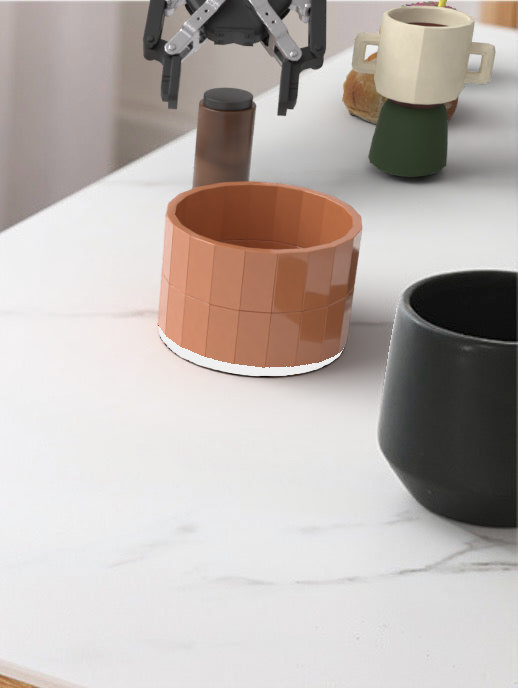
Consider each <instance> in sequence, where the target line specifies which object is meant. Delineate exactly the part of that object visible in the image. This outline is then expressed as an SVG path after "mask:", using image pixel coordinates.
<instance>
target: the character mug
mask: <svg viewBox="0 0 518 688" xmlns="http://www.w3.org/2000/svg"><path fill="white" fill-rule="evenodd" d="M457 10H458V9H456V10H454V9H449V8H443V7H435V6H406V5H404V7H401V6H398V7H392V8H388V9H387V10H386V11H384V12H383V13H382V17H381V22H380V23H381V24H380V26H381V29H380V28H379V29H380V34H379V33H375V32H374V33H373V32H364V31H363V32H359V33H357V34H356V36H355V38H354V42H353V51H352V57H351V68H352V69H353V70H354V71H356V72H358V73H369V74H374V81H375V86H376V91H377V92H378V93H379V94H381V95H382V96H384V97H387V98H389V99H388V100H386V102H385V103H384V105H383V106H382V108H381V111H380V114H379V118H378V121H377V125H376V124H375V128H374V131H373V132H374V133H373V134H372V135H373V136H372V138H371V143H370V147H369V152H368V156H367V158H368V161H369V163H370V164H371V165H372V166H374V167H375V168H376V169H378V170H380V171H382V172H385V173H387V174H390V175H392V176H396V177H397V176H399V177H405V178H407V177H408V178H417V177H426V176H430V175H433V174H436V173H438V172H441V171H443V169H445V168H446V167H447V164H448V163H447V161H448V144H449V143H448V142H449V141H448V138H449V137H448V136H449V133H448V131H449V120H448V113H447V110H446V107H445V105H444V103H446V102H449V101H452V100H456V99H457V97H458V98H459V96H460V94H461V93H462V92H463V90H464V88H465V85H466V84H473V85H474V84H475V85H485V84H489V82H490V81H491V79H492V76H493V75H492V74H493V70H494V64H495V58H496V46H495V45H494V44H491V43H489V42H477V41H473V37H474V32H475V22H476V20H475V19H474V17H473V16H472V15H470V14H468V13H466V12H464V11H461V10H458V11H457ZM367 46H376V47H377V51H376V52H377V59H376V62H366V61H365V60H366V59H365V58H366V50H367ZM470 55H478V56H481V58H480V60H481V61H480V65H479V71H472V70H468V67H469V61H470ZM352 69H351V70H352Z"/></svg>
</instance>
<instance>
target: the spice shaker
mask: <svg viewBox="0 0 518 688" xmlns="http://www.w3.org/2000/svg"><path fill="white" fill-rule="evenodd" d="M256 113H257V104H256V102H255V101H254V95H253V92H250V91H248V90H245V89H242V88H237V87H214V88H210V89H207V90H205V91H204V92H203V97H202V98H201V99H200V100H199V102H198V111H197V124H196V134H195V135H196V136H195V147H194V162H193V173H192V186H191V189H193V188H196V187H200V186H206V185H211V184H217V183H223V182H244V181H250V173H251V163H252V154H253V145H254V132H255V125H256Z"/></svg>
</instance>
